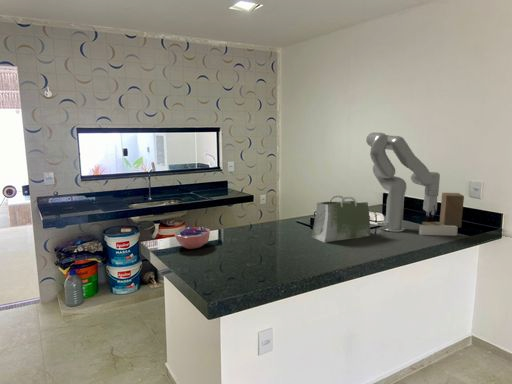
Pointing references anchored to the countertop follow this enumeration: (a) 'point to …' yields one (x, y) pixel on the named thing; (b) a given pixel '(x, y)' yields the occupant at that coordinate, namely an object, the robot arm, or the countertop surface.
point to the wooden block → (451, 209)
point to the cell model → (192, 237)
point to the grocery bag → (341, 220)
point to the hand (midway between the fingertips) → (429, 222)
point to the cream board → (438, 230)
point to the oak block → (432, 223)
